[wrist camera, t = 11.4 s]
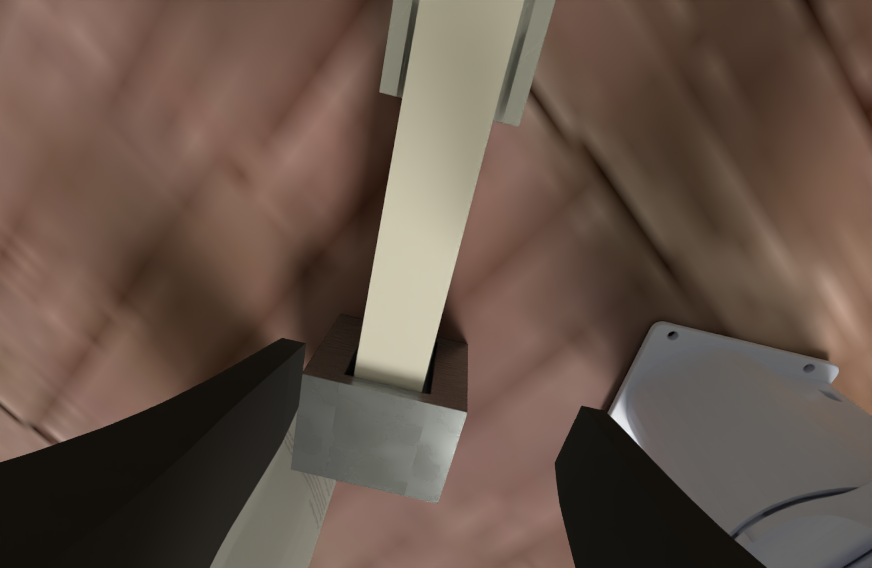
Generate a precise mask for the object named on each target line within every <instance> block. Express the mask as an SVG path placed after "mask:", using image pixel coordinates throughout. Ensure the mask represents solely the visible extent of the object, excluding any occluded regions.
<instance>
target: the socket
mask: <svg viewBox="0 0 872 568" xmlns="http://www.w3.org/2000/svg"><path fill="white" fill-rule="evenodd" d="M362 326H363V319H359V318H354V317H350V316H346V315H342V314H340V315H339V317H338V319H337V320H336V322H335V323H334V325H333V326H332V328H331V329H330V331H329V332H328V334H327V335H326V337H325V338H324V340H323V342H322V343H321V345H320V346H319V348H318V349H317V351H316V352H315V354H314V355H313V357H312V358H311V360H310V361H309V363H308V364H307V366H306V368H305V369H304V371H303V373H302V382H301V391H300V400H299V407H298V410H297V418H296V427H295V436H294V445H293V454H292V463H291V470H295V471H299V472H303V473H308V474H312V475H316V476H321V477H325V478H329V479H334V480H338V481H342V482H347V483H351V484H355V485H360V486H364V487H368V488H373V489H377V490H381V491H386V492H390V493H395V494H399V495H403V496H408V497H412V498H416V499H421V500H425V501H429V502H434V503H438V501H439V498H440V495H441V492H442V489H443V486H444V483H445V480H446V477H447V473H448V470H449V467H450V464H451V461H452V458H453V455H454V452H455V449H456V446H457V443H458V440H459V437H460V434H461V431H462V428H463V425H464V421H465V418H466V415H467V391H468V344H464V343H460V342H455V341H451V340H447V339H443V338H439V337H436V339H435V343H434V347H433V351H432V354H431V358H430V362H429V366H428V370H427V373H426V377H425V381H424V385H423V389H422V392H418V391H413V390H409V389H405V388H401V387H396V386H392V385H388V384H384V383H379V382H375V381H371V380H367V379H362V378H358V377H354V372H355V366H356V360H357V355H358V349H359V343H360V338H361V332H362Z"/></svg>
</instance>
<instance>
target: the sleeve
mask: <svg viewBox="0 0 872 568" xmlns="http://www.w3.org/2000/svg"><path fill="white" fill-rule="evenodd" d="M419 1H420V0H393V6H392V13H391V19H390V26H389V32H388V39H387V45H386V52H385V58H384V65H383V71H382V78H381V84H380V91H379V92H380V93H384V94H388V95H391V96H395V97H399V98H403V92H404V86H405V81H406V75H407V69H408V64H409V58H410V52H411V47H412V41H413V35H414V29H415V24H416V18H417V12H418V7H419ZM554 4H555V0H524V4H523V7H522V11H521V15H520V19H519V23H518V27H517V30H516V34H515V38H514V42H513V46H512V49H511V53H510V57H509V61H508V65H507V68H506V72H505V76H504V80H503V84H502V88H501V91H500V95H499V99H498V103H497V107H496V110H495V114H494V118H493V121H496V122H500V123H504V124H508V125H513V126H518V127H519V125H520V122H521V118H522V115H523V111H524V108H525V104H526V101H527V97H528V94H529V90H530V87H531V84H532V80H533V77H534V73H535V70H536V66H537V63H538V59H539V56H540V52H541V49H542V45H543V42H544V38H545V35H546V32H547V28H548V25H549V21H550V18H551V14H552V11H553V7H554Z"/></svg>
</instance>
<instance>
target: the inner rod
mask: <svg viewBox="0 0 872 568" xmlns="http://www.w3.org/2000/svg"><path fill="white" fill-rule="evenodd" d="M523 4H524V0H420V1H419V7H418V12H417V18H416V24H415V29H414V35H413V41H412V47H411V52H410V58H409V64H408V69H407V75H406V81H405V86H404V92H403V98H402V104H401V109H400V115H399V121H398V126H397V132H396V138H395V144H394V149H393V155H392V161H391V166H390V172H389V178H388V184H387V189H386V195H385V201H384V206H383V212H382V218H381V223H380V229H379V235H378V241H377V246H376V252H375V258H374V263H373V269H372V275H371V281H370V286H369V292H368V298H367V303H366V309H365V315H364V320H363V326H362V332H361V338H360V343H359V349H358V355H357V360H356V366H355V372H354V377H358V378H362V379H367V380H371V381H375V382H379V383H384V384H388V385H392V386H396V387H401V388H405V389H409V390H413V391H418V392H422V389H423V385H424V381H425V377H426V373H427V370H428V366H429V362H430V358H431V354H432V351H433V347H434V343H435V339H436V335H437V331H438V328H439V324H440V320H441V316H442V312H443V309H444V305H445V301H446V297H447V293H448V290H449V286H450V282H451V278H452V274H453V270H454V267H455V263H456V259H457V255H458V251H459V248H460V244H461V240H462V236H463V232H464V229H465V225H466V221H467V217H468V213H469V209H470V206H471V202H472V198H473V194H474V190H475V187H476V183H477V179H478V175H479V171H480V168H481V164H482V160H483V156H484V152H485V149H486V145H487V141H488V137H489V133H490V129H491V126H492V122H493V118H494V114H495V110H496V107H497V103H498V99H499V95H500V91H501V88H502V84H503V80H504V76H505V72H506V68H507V65H508V61H509V57H510V53H511V49H512V46H513V42H514V38H515V34H516V30H517V27H518V23H519V19H520V15H521V11H522V7H523Z"/></svg>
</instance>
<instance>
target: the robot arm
mask: <svg viewBox="0 0 872 568" xmlns="http://www.w3.org/2000/svg"><path fill="white" fill-rule="evenodd" d="M672 331H675V333H674V334H673V335H672V336H668V334H669V333H670V332H672ZM305 346H306V343H302V342H298V341H293V340H289V339H285V338H281V339H279V340H277V341H276V342H274V343H272V344H270V345H269V346H267V347H265V348H263V349H262V350H260V351H258V352H257V353H255V354H253V355H251V356H250V357H248V358H246V359H245V360H243V361H241V362H239V363H238V364H236V365H234V366H232V367H231V368H229V369H227V370H225V371H223V372H222V373H220V374H218V375H216V376H214V377H213V378H211V379H209V380H207V381H205V382H203V383H201V384H199V385H197V386H195V387H193V388H191V389H189V390H187V391H185V392H183V393H181V394H179V395H177V396H175V397H173V398H171V399H169V400H167V401H165V402H162V403H160V404H158V405H156V406H154V407H151V408H149V409H147V410H145V411H142V412H140V413H138V414H135V415H133V416H130V417H128V418H125V419H123V420H121V421H118V422H116V423H113V424H111V425H108V426H106V427H103V428H100V429H98V430H95V431H92V432H89V433H86V434H84V435H81V436H78V437H75V438H72V439H69V440H67V441H64V442H61V443H58V444H55V445H52V446H50V447H47V448H44V449H41V450H38V451H35V452H32V453H29V454H26V455H23V456H20V457H16V458H13V459H10V460H7V461H3V462H0V568H210V566H211V564H212V562H213V560H214V558H215V556H216V554H217V552H218V550H219V549H220V547H221V545H222V543H223V541H224V540H225V538H226V536H227V534H228V532H229V531H230V529H231V527H232V525H233V524H234V522H235V521H236V519H237V517H238V516H239V514H240V512H241V511H242V509H243V507H244V506H245V504H246V502H247V501H248V499H249V497H250V496H251V494H252V493H253V491H254V489H255V488H256V486H257V484H258V483H259V481H260V479H261V478H262V476H263V474H264V473H265V471H266V469H267V468H268V466H269V464H270V463H271V461H272V459H273V458H274V456H275V454H276V453H277V451H278V449H279V448H280V446H281V444H282V443H283V440H284V438H285V436H286V434H287V432H288V430H289V428H290V425H291V423H292V421H293V419H294V416H295V414H296V412H297V410H298V407H299V400H300V391H301V382H302V373H303V364H304V355H305ZM806 365H808V366H807V367H805V366H806ZM804 367H805V368H804ZM838 372H839V368H838V367H837V366H836V365H835V364H833V363H832V362H830V361H827V360H822V359H818V358H814V357H810V356H806V355H802V354H798V353H793V352H789V351H785V350H781V349H777V348H773V347H768V346H764V345H760V344H756V343H752V342H748V341H743V340H739V339H735V338H731V337H727V336H723V335H718V334H714V333H710V332H706V331H702V330H698V329H694V328H689V327H685V326H681V325H677V324H673V323H669V322H664V321H660V322H656V323H655V324H653V325H652V326H651V328H650V330H649V332H648V334H647V336H646V338H645V340H644V342H643V344H642V346H641V348H640V350H639V351H638V353H637V355H636V357H635V359H634V361H633V363H632V365H631V367H630V369H629V371H628V373H627V375H626V377H625V379H624V381H623V383H622V385H621V387H620V389H619V391H618V393H617V395H616V397H615V399H614V401H613V403H612V405H611V407H610V409H609V411H608V413H606V412H605V411H603V410H599V409H594V408H590V407H585V406H581V408H580V410H579V412H578V415H577V417H576V419H575V421H574V423H573V425H572V427H571V429H570V432H569V434H568V436H567V438H566V440H565V442H564V444H563V446H562V449H561V451H560V453H559V455H558V457H557V459H556V461H555V471H556V481H557V489H558V496H559V503H560V508H561V512H562V516H563V520H564V524H565V528H566V532H567V537H568V540H569V544H570V548H571V552H572V556H573V560H574V564H575V568H872V416H871V415H870V414H869V413H867V412H866V411H865V410H863V409H862V408H861V407H859V406H858V405H857V404H855V403H854V402H853V401H851V400H850V399H849V398H847V397H846V396H845V395H843V394H842V393H840V392H839V391H838V390H836V389H835V388H834V387H832V386H831V385H830V384H831V383H832V381H833V380H834V379H835V377H836V376H837V374H838Z"/></svg>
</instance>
